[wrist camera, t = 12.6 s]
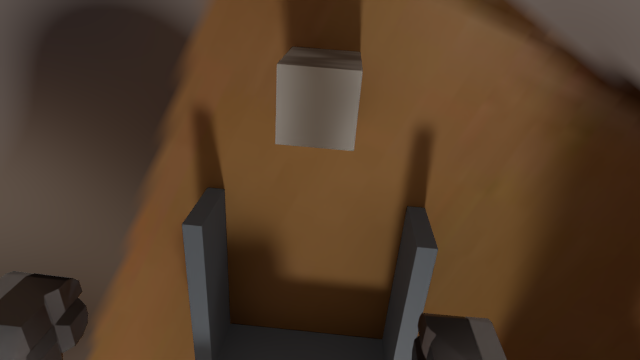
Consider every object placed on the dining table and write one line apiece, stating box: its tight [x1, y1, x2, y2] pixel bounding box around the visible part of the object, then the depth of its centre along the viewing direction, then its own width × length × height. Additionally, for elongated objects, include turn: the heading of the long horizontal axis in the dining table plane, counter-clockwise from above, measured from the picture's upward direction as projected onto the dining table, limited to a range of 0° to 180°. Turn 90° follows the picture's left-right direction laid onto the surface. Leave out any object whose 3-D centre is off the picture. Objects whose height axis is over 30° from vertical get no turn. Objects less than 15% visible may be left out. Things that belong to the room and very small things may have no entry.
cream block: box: [275, 47, 363, 151], centre depth 28 cm, size 5×5×7 cm
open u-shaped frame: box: [182, 188, 438, 360], centre depth 36 cm, size 19×18×6 cm
